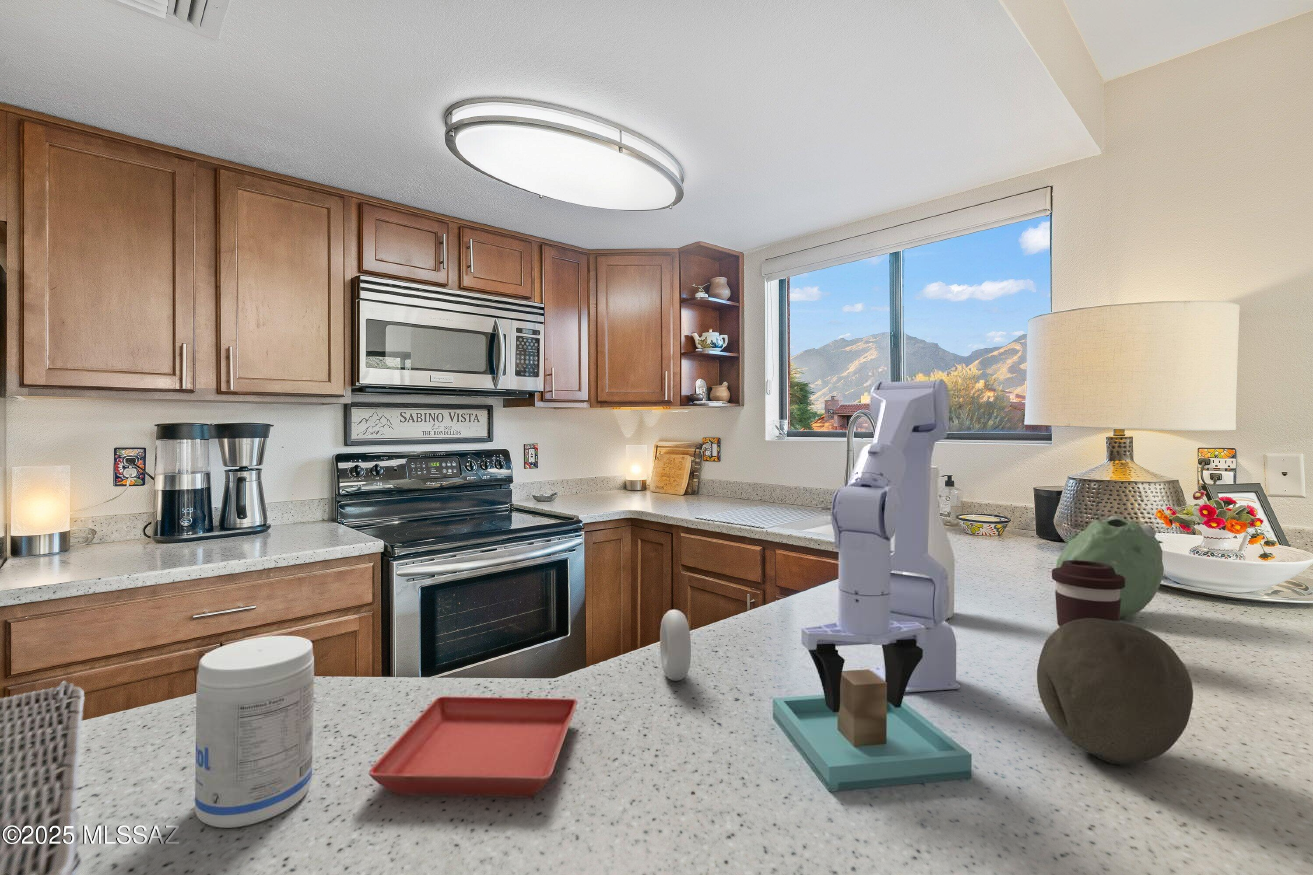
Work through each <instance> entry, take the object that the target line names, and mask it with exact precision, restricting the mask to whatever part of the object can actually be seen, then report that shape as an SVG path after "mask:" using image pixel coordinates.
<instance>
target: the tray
mask: <svg viewBox="0 0 1313 875" xmlns="http://www.w3.org/2000/svg"><path fill="white" fill-rule="evenodd" d="M772 719H773V720H774V722H775V723H776V724H777V725H778V726H779V728H780V729H781V731H783V734H785V736H786V737H787V739H789V741H790V742H791V744H792V745H793V746H794V747H795V749H796V751H797V752H798V753H799V754H800V756H801V757H802V758H803V759H804V761H805V762H806V764H808V765H807V766H809V767H810V769H811V770H812V771H813V773H814V774H815V775H816V777H817V778H818V779H819V780H820V782H821V783H822V784H823V786H824V787H825V789H826V790H827V791H828V792H836V791H848V790H850V791H851V790H857V789H869V788H878V787H879V788H880V787H890V786H900V785H911V784H919V783H921V784H923V783H933V782H934V783H935V782H942V781H953V780H955V781H956V780H963V779H964V780H965V779H972V774H973V773H972V766H973V765H972V763H973V761H972V760H973V759H972V758H973V755H972V753H971V752H969V751H968V750H967V749H965V747H963V746H962V745H960V744H959V743H958V742H956V740H954V739H953V738H951V737H950V736H948V734H946V733H945V732H944V731H943V730H941V729H940V728H938V727H937V726H936V725H934V724H933V723H932V722H930V721H929V720H928V719H926V717H924V716H923V715H922V714H920V713H919V712H918V711H916V710H915V709H914V708H912V707H911V706H910V705H908V703H906V702H905V701H904V700H902V704H901V707H900V708H895V707H894V706H893V705H892V704H890V703H889V702H888V701H887V734H886V744H881V745H869V746H857V747H853V745H852V744H851V743H850V742H849V741H848V740H847V739H846V738H845V737H844V736H843V735H842V734H841V733H840V732H839V731H838V730H837V723H838V712H832V711H831V710H830V709H829V708H828V707H827V706H826V702H825V696H824V694H813V695H799V696H798V695H797V696H786V697H785V696H783V697H782V696H781V697H773V698H772Z"/></svg>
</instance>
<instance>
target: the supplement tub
mask: <svg viewBox="0 0 1313 875" xmlns="http://www.w3.org/2000/svg"><path fill="white" fill-rule="evenodd" d="M314 656H315V655H314V650H313V642H312V641H311V640H309V639H307V638H305V637H301V636H296V635H271V636H262V637H254V638H249V639H244V640H243V639H242V640H239V641H236V642H231V643H229V644H225V645H223V646H220V647H217V648H215V649H213V650H210V651H208V652H207V653H205V655H203V656H202V657H201V658H200V659H199V661H198V673H197V675H196V680H197V681H196V691H195V692H196V694H195V696H196V697H195V700H196V701H195V763H194V764H195V768H194V769H195V774H194V775H195V777H194V778H195V779H194V781H195V782H194V786H195V787H194V811H195V815H196V817H197V818H198V819H199V820H200V821H201V822H202V823H204V824H206V825H209V826H211V827H215V828H225V829H227V828H228V829H229V828H231V829H232V828H238V827H239V828H240V827H245V826H250V825H254V824H257V823H260V822H263V821H266V820H268V819H271V818H273V817H276V816H278V815H281V814H282V813H284V812H285V811H287V810H289V809H291V808H292V807H294V806H295V805H296V804H297V803H298V802H299V801H301V799H303V797H304V796H305V795H306V794H307V793H308V791H309V789H310V787H311V785H312V781H313V761H314V760H313V759H314V756H313V755H314V754H313V752H314V748H313V747H314V743H313V742H314V706H315V704H314V702H315V701H314V699H315V696H314V694H315V689H314V688H315V657H314Z"/></svg>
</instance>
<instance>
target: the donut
mask: <svg viewBox="0 0 1313 875" xmlns="http://www.w3.org/2000/svg"><path fill="white" fill-rule="evenodd" d="M688 622H689V621H688V620H687V618H686V615H685V613H683V612H682V611H680V610H678V609H674V608H673V609H670V610H668V611H666V613H665V614H664V615H663V617H662V618H661V622H660V630H659V650H660V652H659V653H660V661H661V666H662V670H663V673H664V674H665V676H666V677H667V678H668V679H669V680H671V681H673V682H674V681H675V682H677V681H678V682H679V681H681V680H682V679H685V677H686V676H687V675H688V674H689V670H690V667H691V662H692V660H691V657H692V641H691V631H690V627H689V623H688Z"/></svg>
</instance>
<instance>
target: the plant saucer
mask: <svg viewBox="0 0 1313 875" xmlns="http://www.w3.org/2000/svg"><path fill="white" fill-rule="evenodd" d="M578 702H579V701H578V700H577V699H576V698H559V697H558V698H556V697H555V698H554V697H552V698H551V697H503V696H502V697H501V696H499V697H497V696H495V697H494V696H491V697H489V696H486V697H485V696H449V695H448V696H439V697H436V698H435V699H434V700H433V701H432V702H431V703H430V704H429V705H428V706H427V707H426V709H425V710H424V711H423V712H422V713H421V714H420V715H419V716H418V717H417V718H416V719H415V720H414V722H412V724H411V725H410V726H409V727H408V728H407V729H406V730H405V731H404V732H403V733H402V734H401V736H399V737H398V739H397V740H396V741H395V742H394V743H393V744H392V745H391V747H390V748H389V749H387V751H386V752H385V753H384V754H383V755H382V756H381V757H380V758H379V759H378V760H377V761H376V762H375V764H374V765H372V766H371V767H370V769H369V771H368V776H370V777H371V779H372V780H374V781H375V782H376V783H378V784H379V785H381V786H382V787H383V788H385V789H387V790H388V791H390V792H391V793H392V792H393V793H395V794H397V795H430V796H432V795H435V796H472V797H473V796H474V797H475V796H479V797H480V796H482V797H483V796H484V797H512V798H513V797H518V798H519V797H524V798H530V797H534V796H535V795H537V794H538V793H539V792H540V791H541V789H543V788H544V786H545V785H546V784H547V783H548V781H549V780H550V778H551V776H552V774H553V772H554V769H555V766H556V763H557V760H558V757H559V755H560V752H561V749H562V747H563V743H564V742H565V741H564V740H565V739H566V735H567V732H568V730H569V727H570V724H571V722H572V719H573V718H574V717H573V716H574V713H575V710H576V709H577V706H578Z"/></svg>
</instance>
